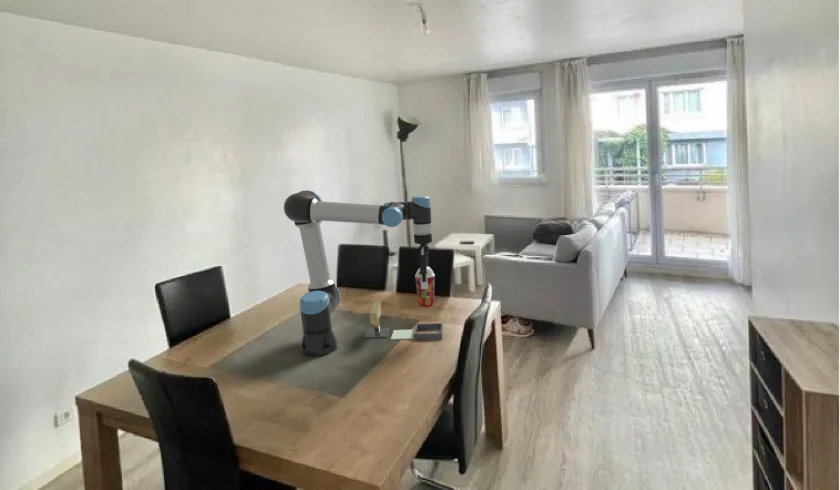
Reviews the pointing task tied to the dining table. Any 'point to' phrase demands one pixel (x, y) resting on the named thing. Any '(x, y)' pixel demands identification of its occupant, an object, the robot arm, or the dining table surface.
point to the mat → (402, 334)
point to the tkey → (375, 315)
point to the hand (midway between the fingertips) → (425, 285)
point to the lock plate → (377, 333)
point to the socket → (428, 335)
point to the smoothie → (425, 294)
